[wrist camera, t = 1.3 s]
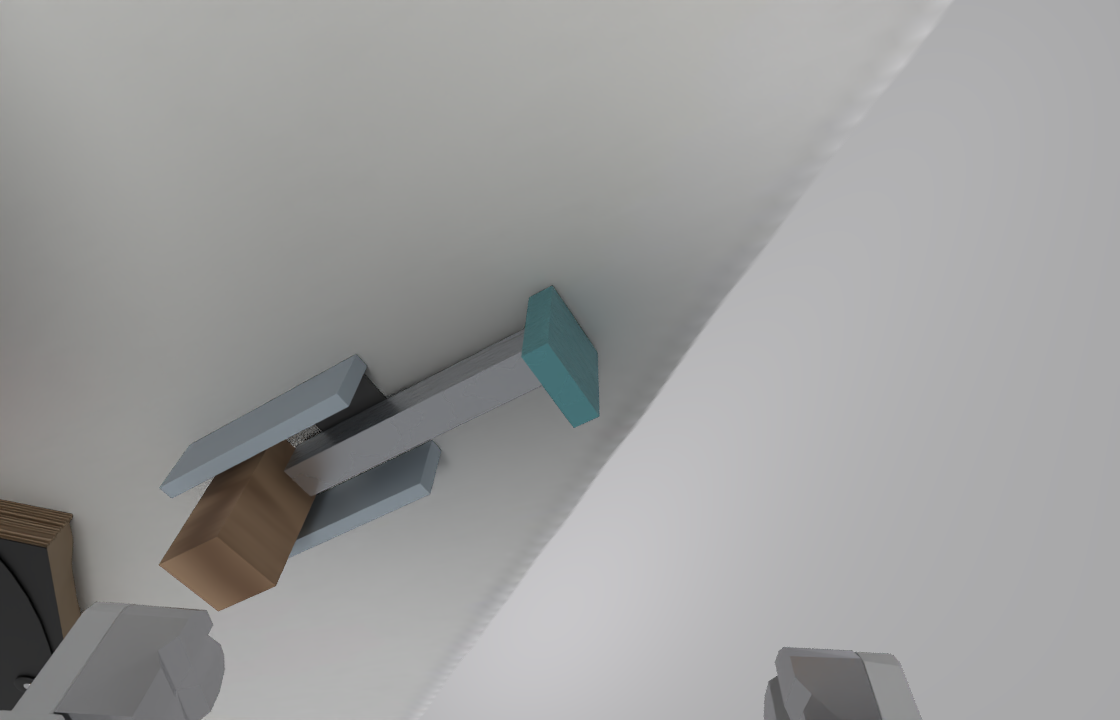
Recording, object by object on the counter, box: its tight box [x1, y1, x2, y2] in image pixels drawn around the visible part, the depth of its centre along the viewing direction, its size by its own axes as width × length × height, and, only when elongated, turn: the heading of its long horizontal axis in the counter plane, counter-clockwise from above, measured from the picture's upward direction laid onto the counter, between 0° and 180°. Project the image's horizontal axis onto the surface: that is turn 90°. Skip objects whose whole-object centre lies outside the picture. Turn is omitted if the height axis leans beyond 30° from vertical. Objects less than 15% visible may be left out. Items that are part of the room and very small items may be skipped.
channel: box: [159, 354, 441, 558], centre depth 45 cm, size 14×8×4 cm, turn 121°
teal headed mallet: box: [284, 286, 599, 497], centre depth 41 cm, size 20×5×6 cm, turn 121°
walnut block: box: [159, 439, 316, 611], centre depth 44 cm, size 4×4×9 cm
